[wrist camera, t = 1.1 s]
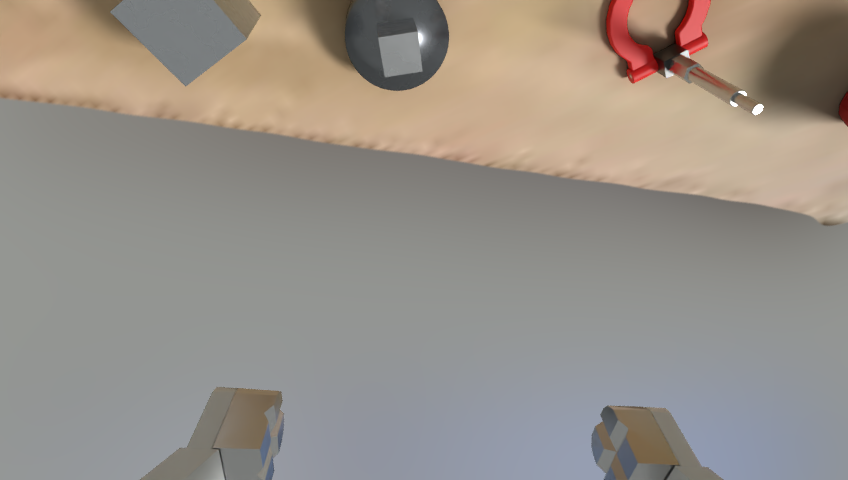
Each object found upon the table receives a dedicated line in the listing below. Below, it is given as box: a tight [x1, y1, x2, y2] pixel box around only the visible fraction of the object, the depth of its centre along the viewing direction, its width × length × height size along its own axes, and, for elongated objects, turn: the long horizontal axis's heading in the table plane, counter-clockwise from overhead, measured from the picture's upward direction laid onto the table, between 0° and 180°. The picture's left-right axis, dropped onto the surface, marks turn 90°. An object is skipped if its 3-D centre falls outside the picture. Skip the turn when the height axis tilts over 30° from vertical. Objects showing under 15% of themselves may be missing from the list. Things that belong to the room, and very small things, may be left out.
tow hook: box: [606, 0, 763, 115], centre depth 34 cm, size 8×13×9 cm
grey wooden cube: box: [110, 0, 261, 86], centre depth 32 cm, size 6×6×6 cm
